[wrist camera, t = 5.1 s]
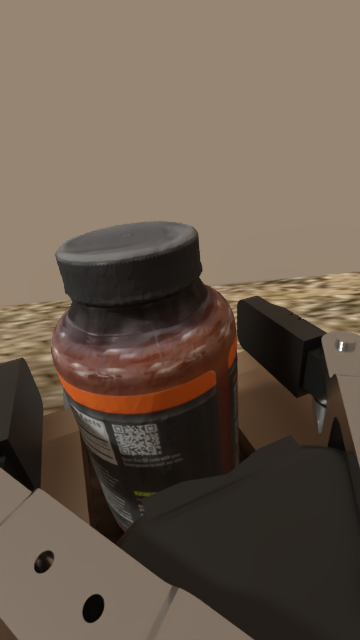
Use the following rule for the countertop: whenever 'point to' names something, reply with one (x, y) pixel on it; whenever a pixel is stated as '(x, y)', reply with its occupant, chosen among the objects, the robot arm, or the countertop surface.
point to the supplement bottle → (147, 361)
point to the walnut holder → (254, 432)
